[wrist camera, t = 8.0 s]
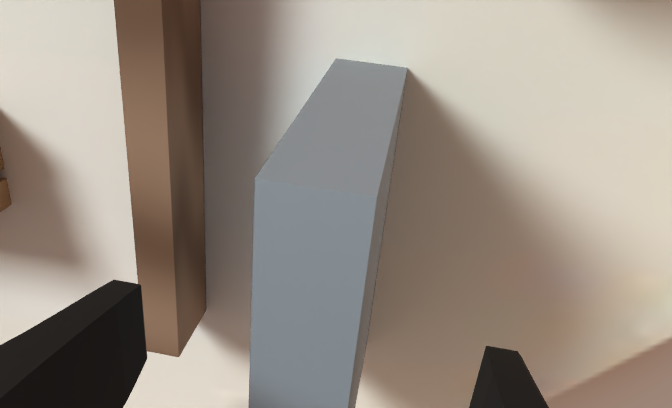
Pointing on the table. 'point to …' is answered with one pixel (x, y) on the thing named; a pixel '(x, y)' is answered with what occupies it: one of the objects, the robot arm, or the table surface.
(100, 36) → the table surface
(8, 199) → the offcut stack
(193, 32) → the rack
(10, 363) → the robot arm
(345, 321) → the grey upright plank
